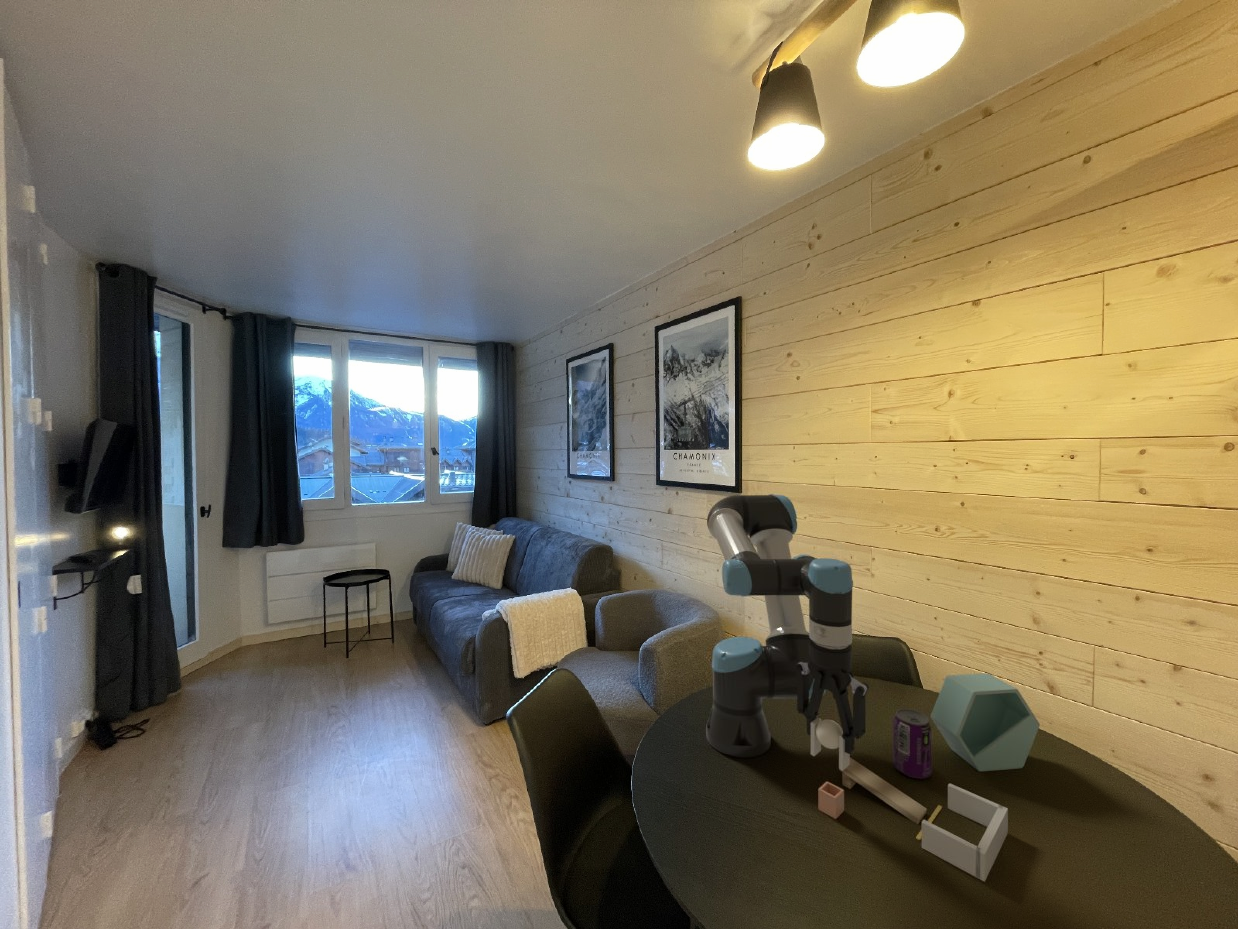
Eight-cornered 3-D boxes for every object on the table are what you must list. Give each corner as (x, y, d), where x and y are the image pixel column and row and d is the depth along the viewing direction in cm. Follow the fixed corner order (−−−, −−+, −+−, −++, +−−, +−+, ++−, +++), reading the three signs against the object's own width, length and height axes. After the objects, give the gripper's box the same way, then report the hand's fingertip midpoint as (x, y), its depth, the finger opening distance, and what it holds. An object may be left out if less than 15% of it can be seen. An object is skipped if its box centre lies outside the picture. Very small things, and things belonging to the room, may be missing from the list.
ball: (810, 746, 94) (811, 721, 94) (823, 735, 98) (823, 711, 97) (836, 758, 91) (836, 732, 90) (848, 747, 94) (848, 722, 94)
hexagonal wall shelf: (992, 791, 104) (943, 716, 103) (963, 768, 112) (917, 697, 111) (1053, 744, 105) (1005, 669, 104) (1020, 724, 113) (975, 653, 112)
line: (915, 838, 87) (915, 837, 87) (938, 805, 94) (938, 805, 94) (919, 840, 86) (919, 839, 86) (942, 807, 94) (942, 806, 94)
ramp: (839, 784, 101) (839, 764, 101) (848, 776, 104) (848, 756, 104) (919, 825, 90) (919, 803, 90) (927, 815, 92) (926, 793, 92)
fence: (921, 847, 85) (921, 822, 85) (949, 806, 94) (949, 783, 94) (984, 882, 78) (984, 854, 78) (1007, 833, 88) (1007, 808, 87)
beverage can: (937, 783, 101) (937, 726, 100) (900, 779, 102) (899, 723, 102) (923, 762, 108) (923, 708, 107) (888, 758, 109) (888, 706, 109)
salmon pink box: (818, 809, 94) (818, 789, 94) (827, 801, 96) (826, 781, 96) (835, 819, 91) (835, 798, 91) (844, 810, 94) (844, 790, 94)
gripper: (777, 633, 97) (777, 746, 99) (870, 663, 84) (869, 794, 85) (796, 623, 102) (797, 731, 103) (888, 650, 89) (887, 774, 90)
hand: (829, 759), depth 94 cm, fingers closed on ball, 5 cm apart
